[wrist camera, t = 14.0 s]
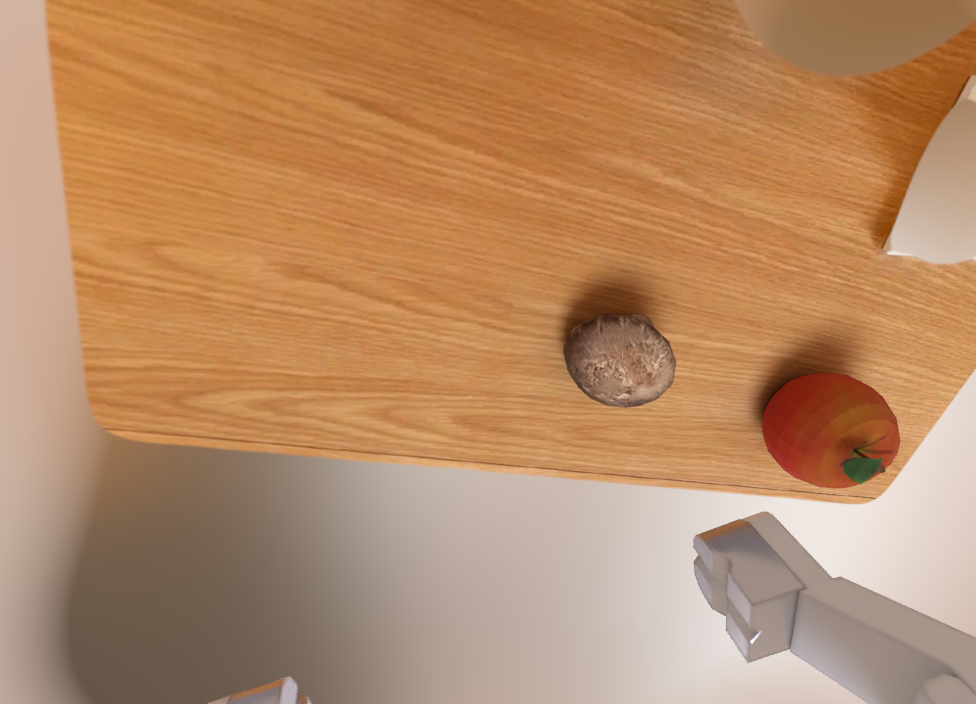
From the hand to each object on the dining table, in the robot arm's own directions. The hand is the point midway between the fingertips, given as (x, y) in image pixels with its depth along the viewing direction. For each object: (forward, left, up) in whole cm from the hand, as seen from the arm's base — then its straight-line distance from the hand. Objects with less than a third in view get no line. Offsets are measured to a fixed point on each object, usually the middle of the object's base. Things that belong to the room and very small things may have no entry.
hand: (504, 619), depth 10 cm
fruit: (+24, +29, -27) cm, 46 cm away
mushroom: (+12, +12, -27) cm, 32 cm away
